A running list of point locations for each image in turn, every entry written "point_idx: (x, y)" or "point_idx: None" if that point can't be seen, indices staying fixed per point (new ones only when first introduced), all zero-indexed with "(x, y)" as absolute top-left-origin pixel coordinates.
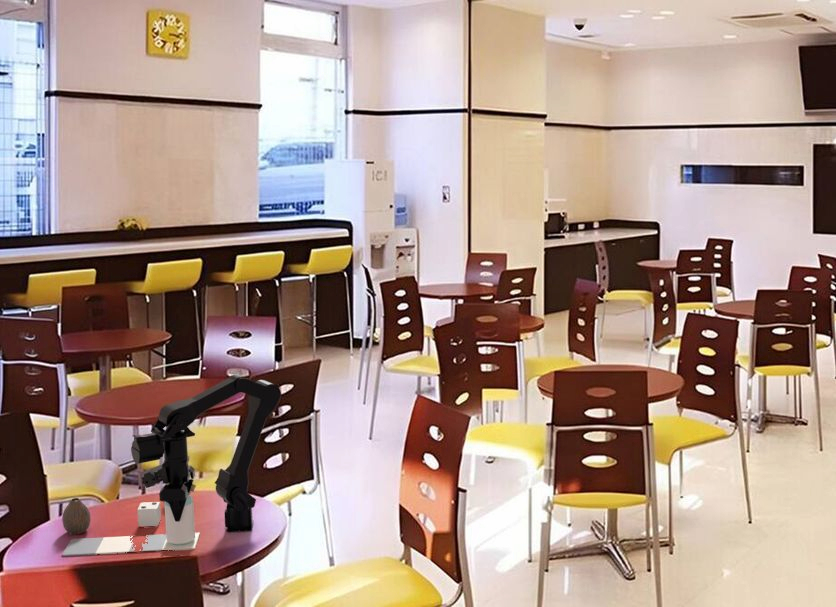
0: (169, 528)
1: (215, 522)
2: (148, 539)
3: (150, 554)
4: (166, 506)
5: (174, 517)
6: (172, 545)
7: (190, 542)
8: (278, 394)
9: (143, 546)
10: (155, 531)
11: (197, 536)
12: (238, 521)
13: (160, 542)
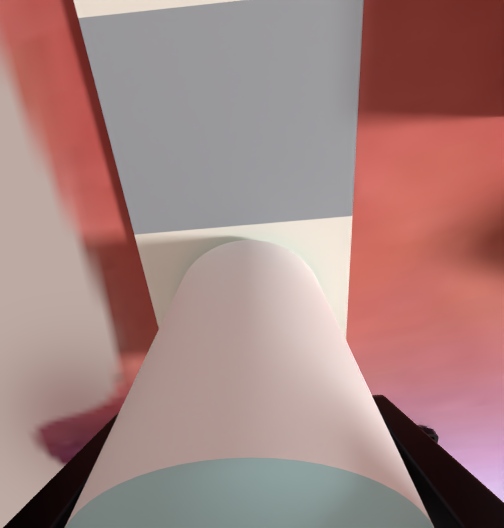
0: (165, 318)
1: (465, 382)
2: (282, 113)
3: (89, 180)
4: (96, 488)
5: (87, 448)
6: None
7: None
8: None
9: (168, 110)
10: (436, 118)
11: None
12: None
13: (231, 203)
